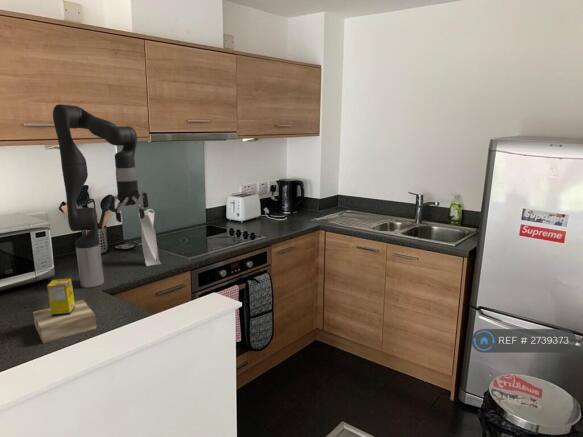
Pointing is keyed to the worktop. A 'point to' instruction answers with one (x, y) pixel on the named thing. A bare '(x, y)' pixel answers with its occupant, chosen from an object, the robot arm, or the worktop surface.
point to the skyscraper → (149, 239)
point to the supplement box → (61, 297)
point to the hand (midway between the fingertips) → (130, 220)
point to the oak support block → (64, 322)
